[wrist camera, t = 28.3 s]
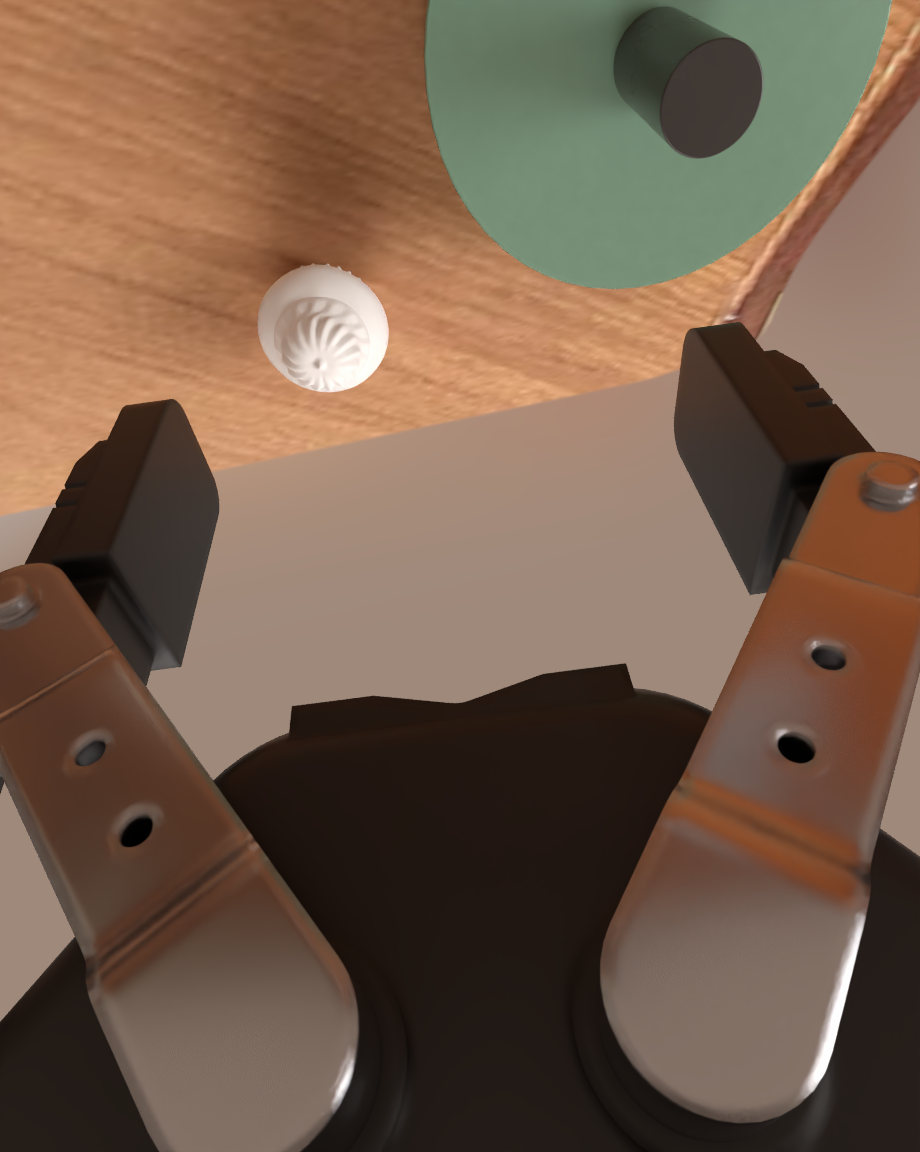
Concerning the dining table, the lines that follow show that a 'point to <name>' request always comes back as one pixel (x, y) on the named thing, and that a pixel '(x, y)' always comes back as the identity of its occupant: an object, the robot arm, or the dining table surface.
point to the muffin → (323, 328)
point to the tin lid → (640, 122)
